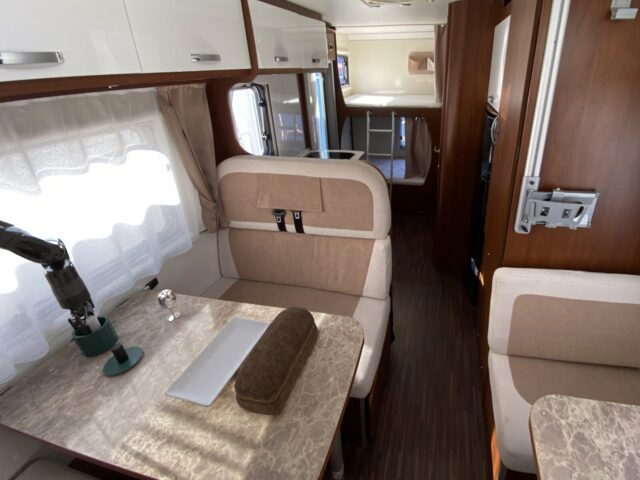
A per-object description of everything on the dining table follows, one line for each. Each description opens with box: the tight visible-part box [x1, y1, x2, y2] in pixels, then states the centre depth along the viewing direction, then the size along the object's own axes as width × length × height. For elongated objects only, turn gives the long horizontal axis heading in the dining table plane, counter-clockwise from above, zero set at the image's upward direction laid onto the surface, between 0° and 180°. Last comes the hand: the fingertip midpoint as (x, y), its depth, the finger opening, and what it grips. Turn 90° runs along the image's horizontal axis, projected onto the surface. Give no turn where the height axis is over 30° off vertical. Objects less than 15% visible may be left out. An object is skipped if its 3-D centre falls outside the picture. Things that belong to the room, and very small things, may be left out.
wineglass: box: [157, 288, 181, 321], centre depth 122 cm, size 6×6×12 cm
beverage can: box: [83, 315, 102, 332], centre depth 110 cm, size 5×5×12 cm
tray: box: [164, 316, 271, 408], centre depth 103 cm, size 17×31×4 cm, turn 166°
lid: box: [102, 342, 144, 377], centre depth 104 cm, size 11×11×8 cm
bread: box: [233, 306, 319, 416], centre depth 98 cm, size 15×32×16 cm, turn 168°
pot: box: [70, 315, 119, 358], centre depth 110 cm, size 10×10×10 cm
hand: (90, 327), depth 109 cm, fingers open, 6 cm apart
